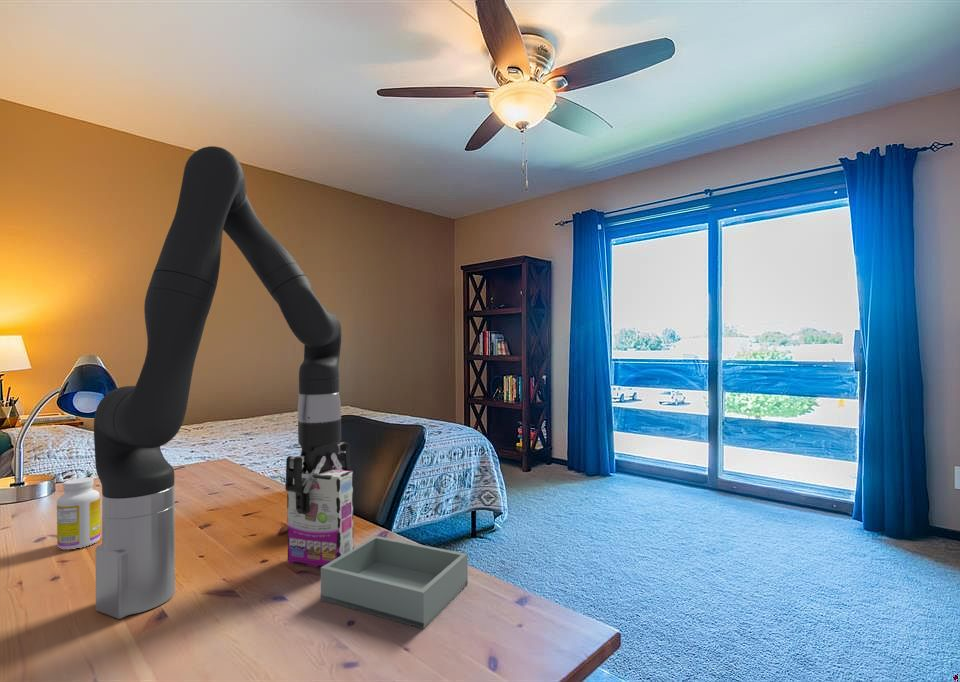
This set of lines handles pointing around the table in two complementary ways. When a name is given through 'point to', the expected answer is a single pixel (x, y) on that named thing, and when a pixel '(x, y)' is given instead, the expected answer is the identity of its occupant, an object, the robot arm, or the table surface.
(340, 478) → the candy bar box
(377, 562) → the bin
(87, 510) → the supplement bottle
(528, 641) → the table surface
